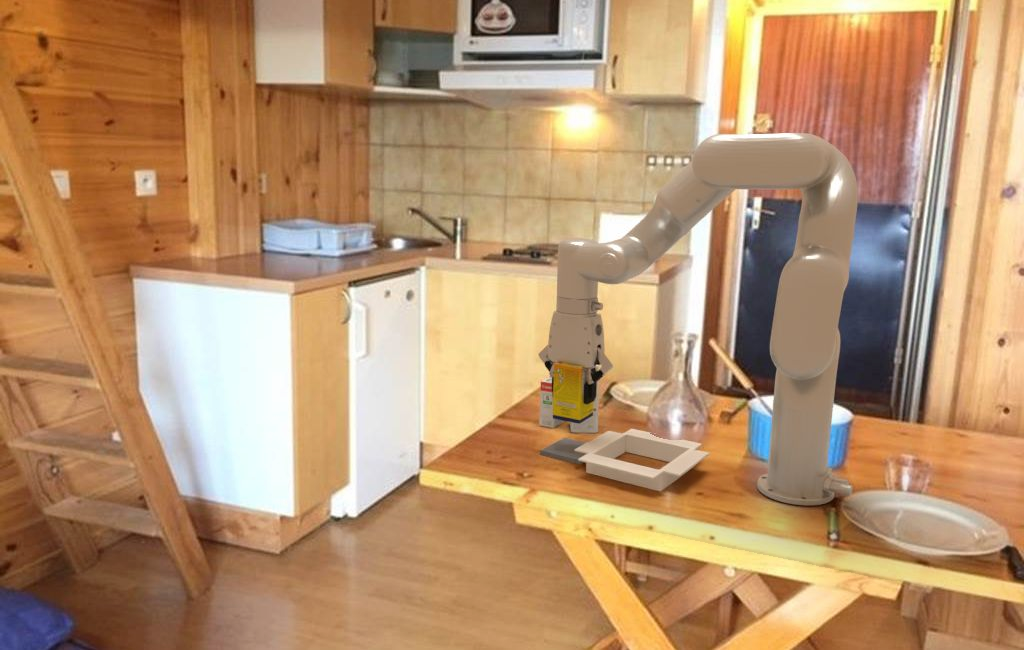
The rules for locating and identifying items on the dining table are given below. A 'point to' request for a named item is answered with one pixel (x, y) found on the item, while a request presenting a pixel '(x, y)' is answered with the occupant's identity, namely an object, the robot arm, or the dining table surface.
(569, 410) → the supplement box
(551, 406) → the ink box
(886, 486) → the dining table surface
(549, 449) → the coaster
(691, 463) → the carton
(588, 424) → the syrup box
